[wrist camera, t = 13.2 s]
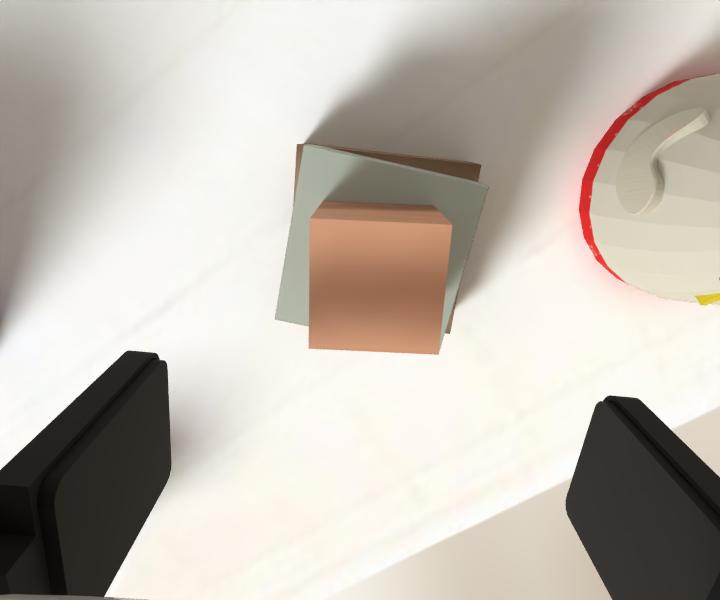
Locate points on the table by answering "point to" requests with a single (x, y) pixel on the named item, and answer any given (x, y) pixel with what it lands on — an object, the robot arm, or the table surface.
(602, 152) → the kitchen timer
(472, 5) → the table surface
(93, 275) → the table surface
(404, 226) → the rust block
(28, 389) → the table surface
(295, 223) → the top block
